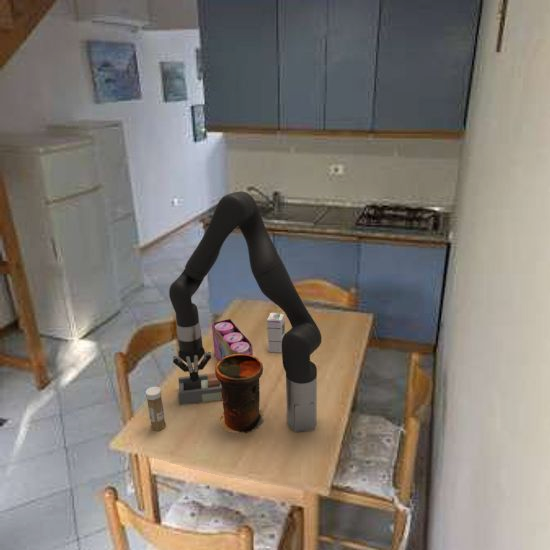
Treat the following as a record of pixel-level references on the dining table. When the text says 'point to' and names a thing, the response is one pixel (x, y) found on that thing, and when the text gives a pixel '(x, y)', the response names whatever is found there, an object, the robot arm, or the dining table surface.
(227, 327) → the gum box
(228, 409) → the vessel
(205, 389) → the channel
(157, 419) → the sprinkles bottle
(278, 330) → the syrup box
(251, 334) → the dining table surface
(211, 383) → the block
